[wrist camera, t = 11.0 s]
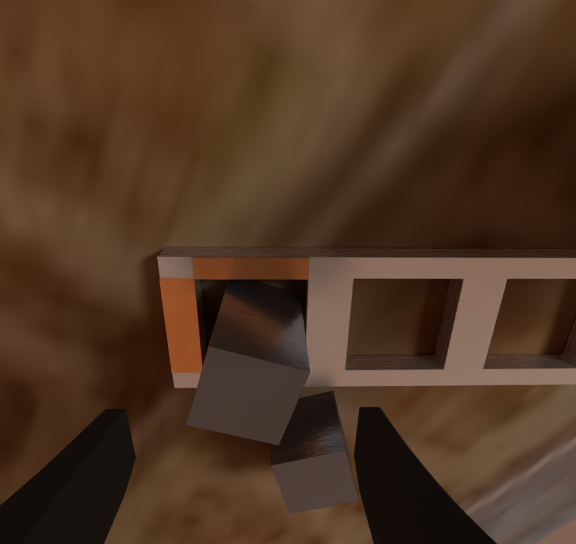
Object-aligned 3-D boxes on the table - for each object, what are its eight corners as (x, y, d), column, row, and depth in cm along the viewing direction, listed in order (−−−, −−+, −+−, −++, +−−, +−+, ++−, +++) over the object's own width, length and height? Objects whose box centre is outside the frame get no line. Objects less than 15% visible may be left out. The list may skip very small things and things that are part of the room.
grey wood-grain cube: (333, 390, 21) (345, 450, 17) (344, 435, 22) (358, 500, 18) (271, 403, 21) (271, 465, 17) (287, 447, 22) (289, 513, 19)
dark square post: (299, 293, 18) (310, 372, 13) (277, 351, 19) (278, 445, 14) (229, 273, 18) (209, 346, 12) (212, 334, 19) (185, 424, 13)
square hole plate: (631, 249, 18) (657, 259, 17) (583, 369, 20) (602, 385, 19) (164, 247, 17) (156, 257, 16) (179, 372, 20) (173, 389, 18)
